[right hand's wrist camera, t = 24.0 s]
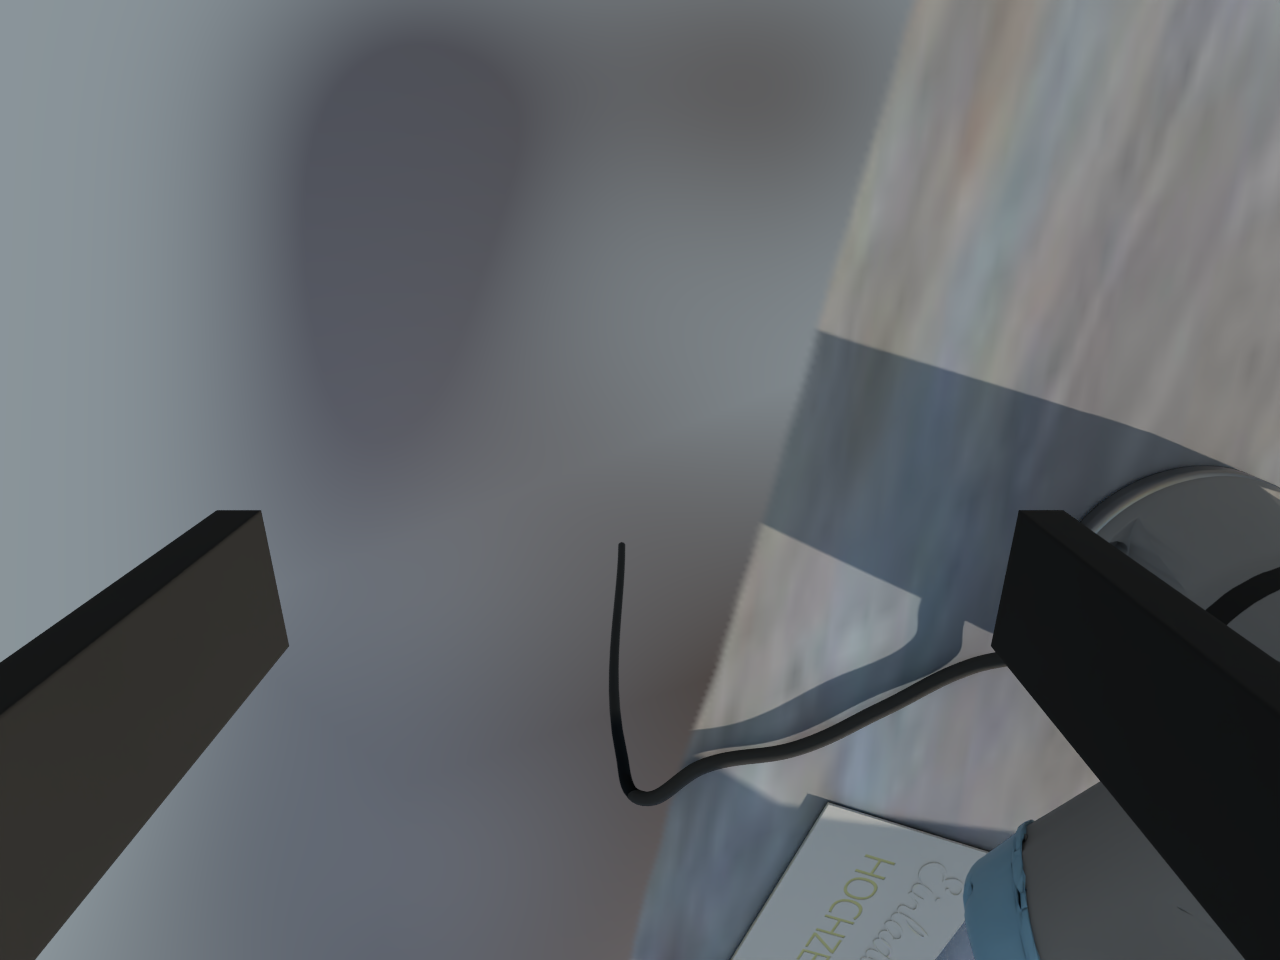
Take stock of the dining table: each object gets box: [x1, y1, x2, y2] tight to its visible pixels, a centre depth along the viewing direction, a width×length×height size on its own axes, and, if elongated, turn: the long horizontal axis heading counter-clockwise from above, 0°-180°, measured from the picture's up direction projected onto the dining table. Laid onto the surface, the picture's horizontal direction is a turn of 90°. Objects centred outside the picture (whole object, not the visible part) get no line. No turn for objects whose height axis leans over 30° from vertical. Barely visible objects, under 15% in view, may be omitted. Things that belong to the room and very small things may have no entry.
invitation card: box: [731, 802, 989, 960], centre depth 55 cm, size 21×1×15 cm
